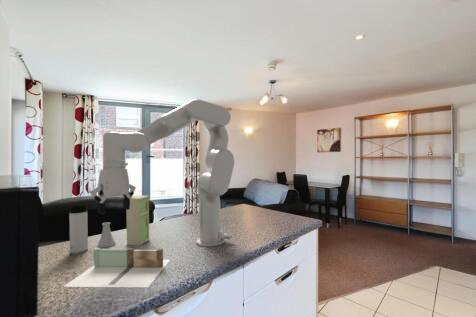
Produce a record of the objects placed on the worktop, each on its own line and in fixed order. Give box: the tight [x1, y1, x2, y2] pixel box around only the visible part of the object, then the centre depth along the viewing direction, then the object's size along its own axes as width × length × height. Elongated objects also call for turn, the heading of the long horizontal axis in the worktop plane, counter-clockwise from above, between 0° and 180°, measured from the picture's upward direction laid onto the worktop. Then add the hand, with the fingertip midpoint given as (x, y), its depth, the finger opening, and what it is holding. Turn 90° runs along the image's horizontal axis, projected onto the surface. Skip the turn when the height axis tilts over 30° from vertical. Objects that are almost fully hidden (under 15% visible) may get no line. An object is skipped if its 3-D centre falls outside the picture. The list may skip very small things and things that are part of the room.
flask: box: [97, 221, 116, 249], centre depth 111 cm, size 7×7×10 cm
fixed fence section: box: [127, 247, 164, 268], centre depth 87 cm, size 12×2×6 cm, turn 87°
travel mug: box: [68, 204, 89, 256], centre depth 103 cm, size 6×7×20 cm
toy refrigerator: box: [125, 195, 150, 246], centre depth 114 cm, size 8×7×21 cm
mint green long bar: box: [93, 247, 129, 267], centre depth 88 cm, size 12×2×6 cm, turn 87°
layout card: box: [63, 259, 171, 288], centre depth 84 cm, size 26×20×1 cm
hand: (114, 211), depth 92 cm, fingers open, 9 cm apart
